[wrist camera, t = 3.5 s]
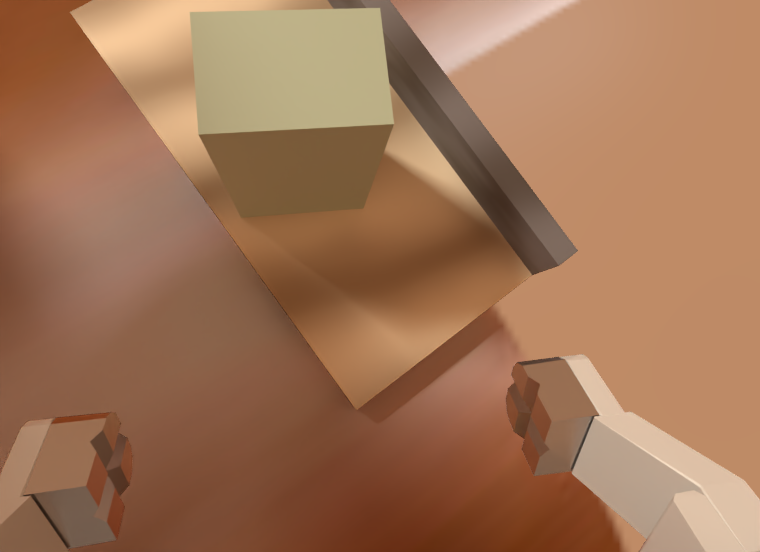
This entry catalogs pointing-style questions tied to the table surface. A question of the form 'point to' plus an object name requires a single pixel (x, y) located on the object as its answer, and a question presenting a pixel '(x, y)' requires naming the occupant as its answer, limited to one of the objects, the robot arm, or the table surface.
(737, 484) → the robot arm
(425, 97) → the shelf
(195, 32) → the carton
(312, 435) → the table surface
